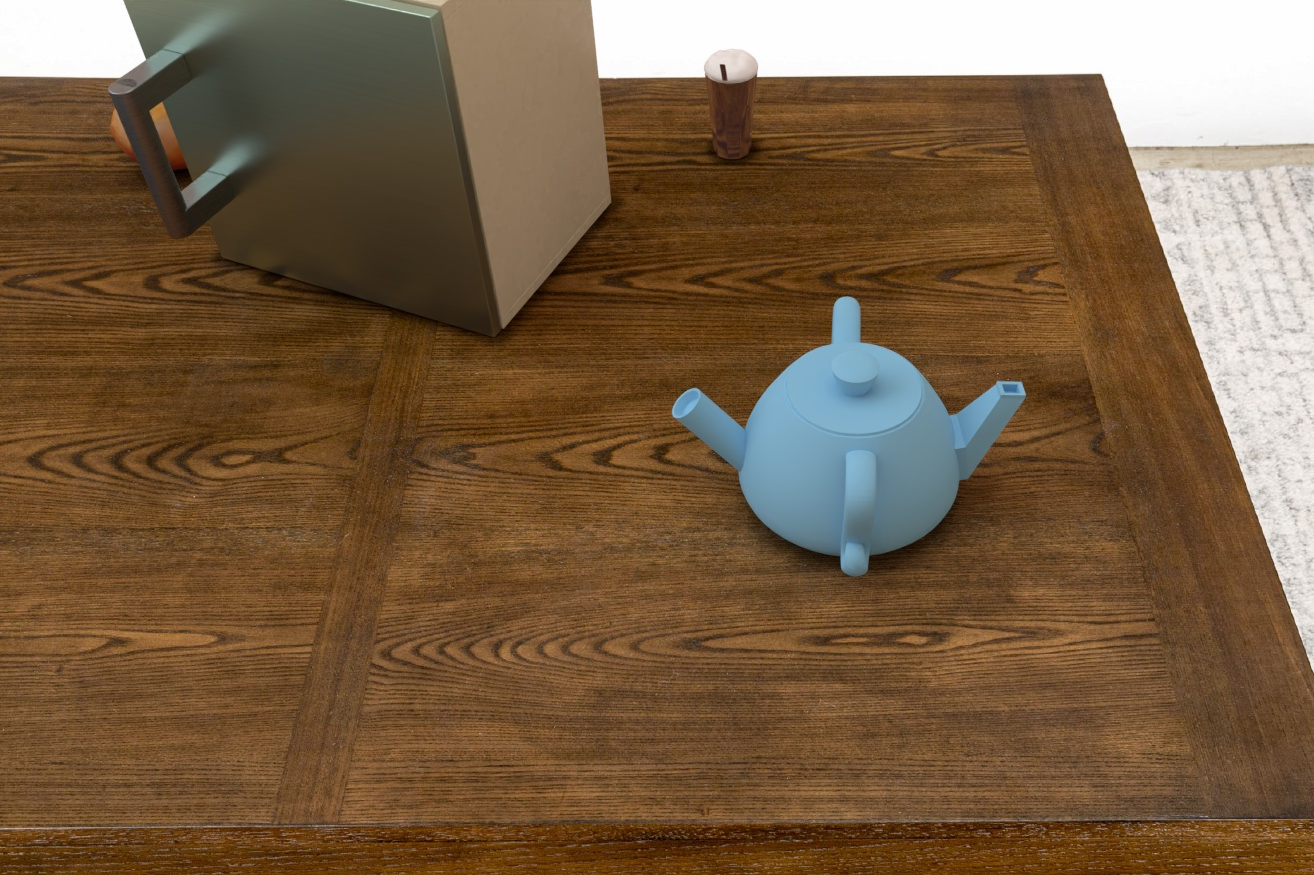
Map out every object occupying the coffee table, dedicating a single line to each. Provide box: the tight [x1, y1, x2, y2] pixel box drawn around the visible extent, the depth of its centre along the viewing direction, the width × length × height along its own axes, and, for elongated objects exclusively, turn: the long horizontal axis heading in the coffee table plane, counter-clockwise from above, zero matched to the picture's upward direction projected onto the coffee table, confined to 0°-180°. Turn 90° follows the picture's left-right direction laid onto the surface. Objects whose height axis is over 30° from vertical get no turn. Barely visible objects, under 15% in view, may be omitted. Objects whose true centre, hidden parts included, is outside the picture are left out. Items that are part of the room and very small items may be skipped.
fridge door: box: [107, 0, 502, 338], centre depth 89 cm, size 7×26×26 cm, turn 66°
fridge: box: [392, 0, 612, 330], centre depth 97 cm, size 18×26×26 cm
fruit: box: [109, 102, 188, 171], centre depth 112 cm, size 8×8×8 cm
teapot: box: [671, 296, 1027, 578], centre depth 81 cm, size 15×17×11 cm
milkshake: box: [703, 48, 759, 160], centre depth 109 cm, size 4×5×10 cm
